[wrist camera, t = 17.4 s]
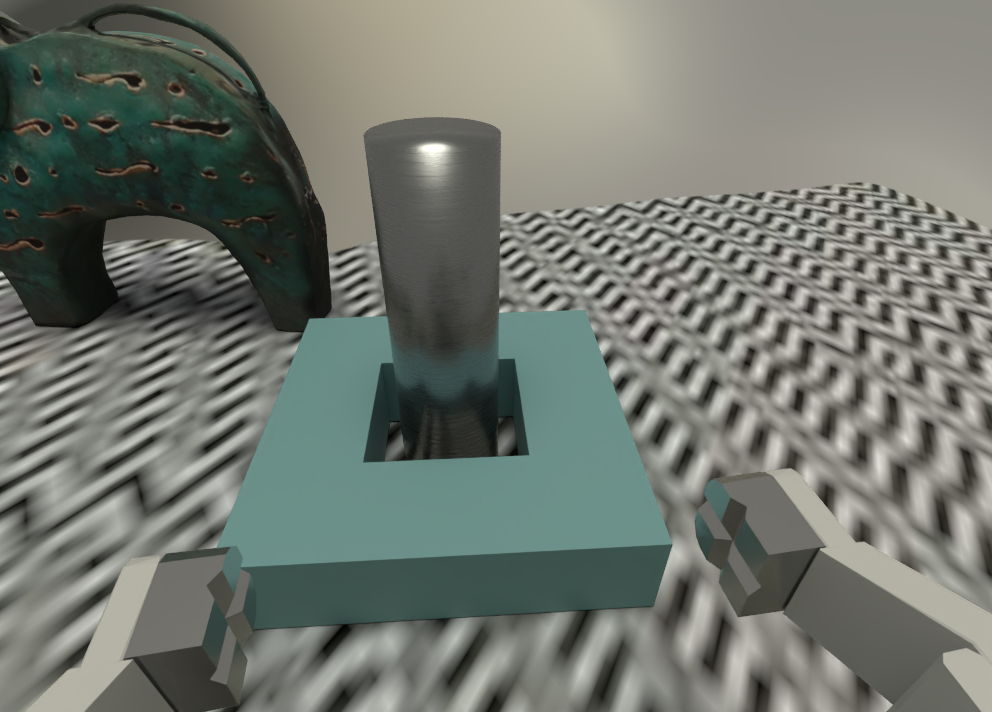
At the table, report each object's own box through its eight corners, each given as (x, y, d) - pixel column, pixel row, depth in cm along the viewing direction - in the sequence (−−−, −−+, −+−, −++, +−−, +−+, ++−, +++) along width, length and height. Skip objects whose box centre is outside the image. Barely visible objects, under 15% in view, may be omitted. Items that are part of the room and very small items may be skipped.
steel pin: (512, 481, 23) (524, 142, 15) (424, 513, 22) (384, 159, 14) (476, 423, 26) (469, 113, 18) (396, 447, 25) (349, 124, 17)
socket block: (653, 605, 19) (672, 544, 17) (240, 630, 18) (208, 569, 16) (578, 364, 30) (584, 310, 28) (322, 373, 30) (309, 318, 28)
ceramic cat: (-6, 336, 33) (-285, -99, 21) (69, 284, 38) (-120, -87, 26) (321, 348, 32) (219, -102, 20) (352, 293, 37) (286, -89, 25)
